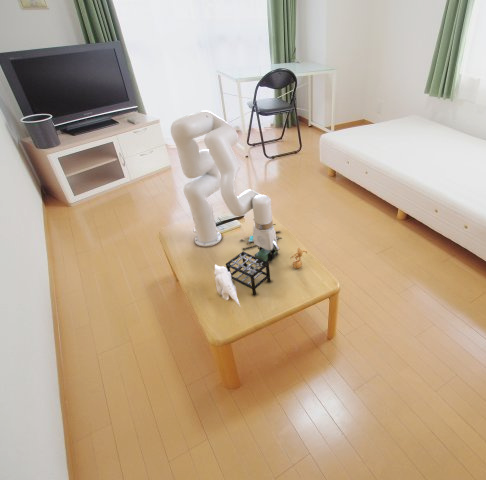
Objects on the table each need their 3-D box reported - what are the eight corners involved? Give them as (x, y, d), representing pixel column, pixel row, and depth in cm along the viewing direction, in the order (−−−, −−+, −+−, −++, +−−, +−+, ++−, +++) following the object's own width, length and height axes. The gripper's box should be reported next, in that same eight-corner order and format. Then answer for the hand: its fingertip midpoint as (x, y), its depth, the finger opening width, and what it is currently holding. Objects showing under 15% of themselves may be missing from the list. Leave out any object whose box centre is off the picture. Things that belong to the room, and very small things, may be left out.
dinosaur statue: (226, 276, 143) (222, 255, 136) (250, 311, 127) (247, 290, 120) (210, 282, 140) (205, 261, 133) (233, 319, 124) (228, 297, 117)
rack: (229, 282, 140) (225, 263, 134) (245, 269, 147) (242, 251, 141) (254, 295, 134) (252, 276, 128) (270, 281, 141) (268, 262, 135)
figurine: (303, 262, 151) (302, 240, 144) (310, 269, 147) (310, 247, 140) (286, 268, 148) (285, 246, 141) (293, 276, 144) (292, 253, 137)
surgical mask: (277, 222, 170) (284, 232, 163) (277, 230, 173) (284, 239, 165) (237, 232, 162) (242, 243, 155) (238, 240, 165) (244, 250, 158)
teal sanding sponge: (263, 267, 148) (262, 258, 145) (255, 263, 150) (254, 254, 147) (278, 254, 156) (278, 245, 153) (271, 251, 158) (270, 242, 155)
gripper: (242, 221, 143) (247, 255, 154) (273, 233, 136) (276, 268, 146) (254, 214, 148) (258, 247, 159) (285, 225, 141) (287, 259, 151)
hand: (267, 257), depth 152 cm, fingers closed on teal sanding sponge, 4 cm apart
